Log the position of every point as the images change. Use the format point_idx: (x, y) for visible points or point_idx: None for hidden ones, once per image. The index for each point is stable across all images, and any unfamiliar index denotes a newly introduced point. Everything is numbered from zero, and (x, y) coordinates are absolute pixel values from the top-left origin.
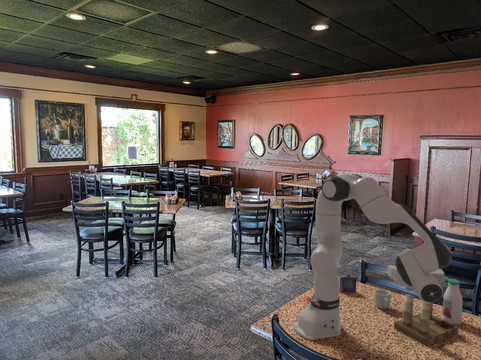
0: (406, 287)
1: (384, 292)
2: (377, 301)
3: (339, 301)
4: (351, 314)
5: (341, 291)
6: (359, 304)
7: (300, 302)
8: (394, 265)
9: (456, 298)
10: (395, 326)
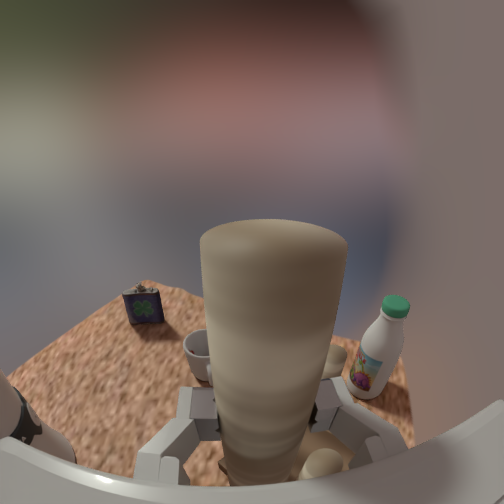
0: (230, 484)
1: None
2: (191, 367)
3: (22, 437)
4: (118, 413)
5: (132, 323)
6: (154, 368)
7: (34, 366)
8: (32, 462)
9: (395, 351)
10: (222, 468)
